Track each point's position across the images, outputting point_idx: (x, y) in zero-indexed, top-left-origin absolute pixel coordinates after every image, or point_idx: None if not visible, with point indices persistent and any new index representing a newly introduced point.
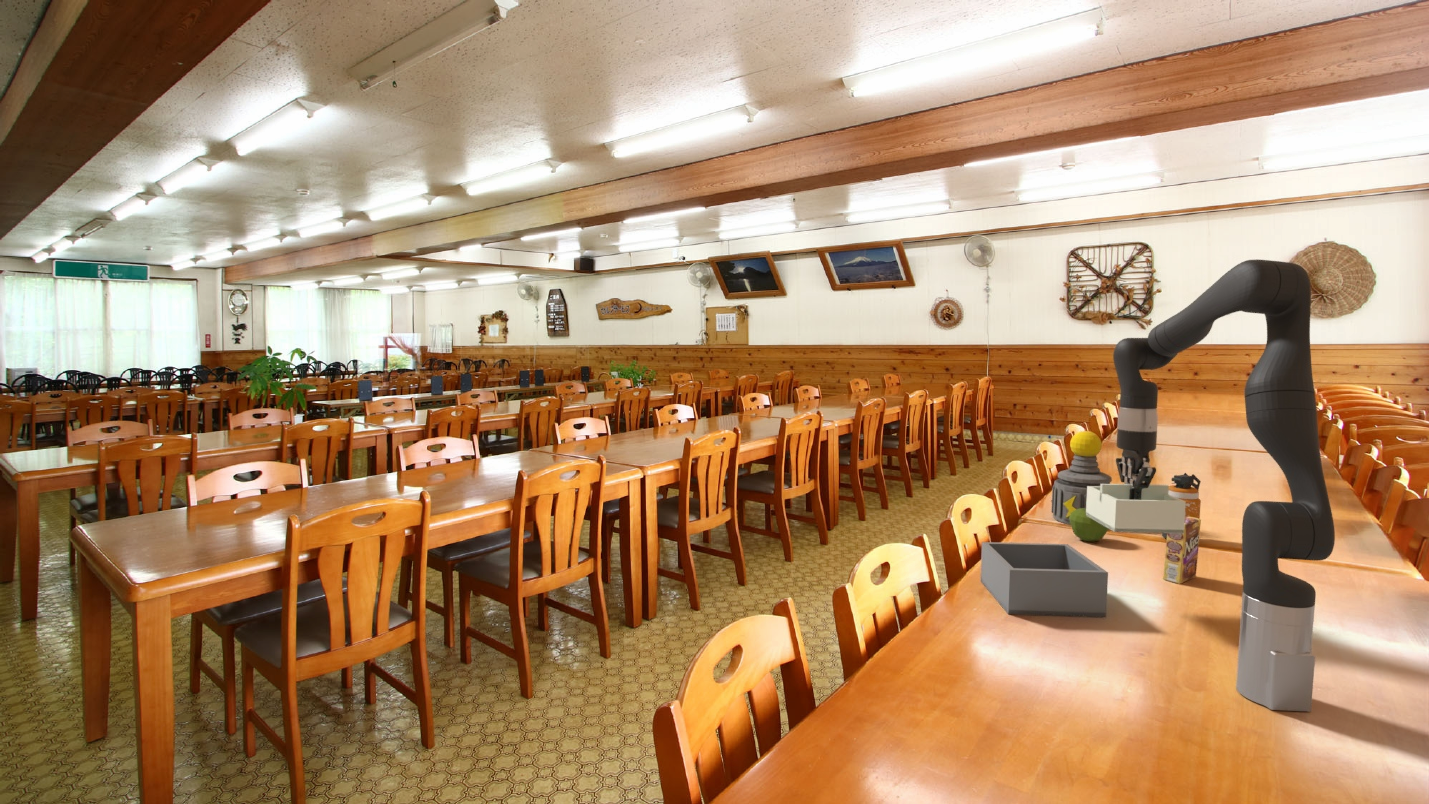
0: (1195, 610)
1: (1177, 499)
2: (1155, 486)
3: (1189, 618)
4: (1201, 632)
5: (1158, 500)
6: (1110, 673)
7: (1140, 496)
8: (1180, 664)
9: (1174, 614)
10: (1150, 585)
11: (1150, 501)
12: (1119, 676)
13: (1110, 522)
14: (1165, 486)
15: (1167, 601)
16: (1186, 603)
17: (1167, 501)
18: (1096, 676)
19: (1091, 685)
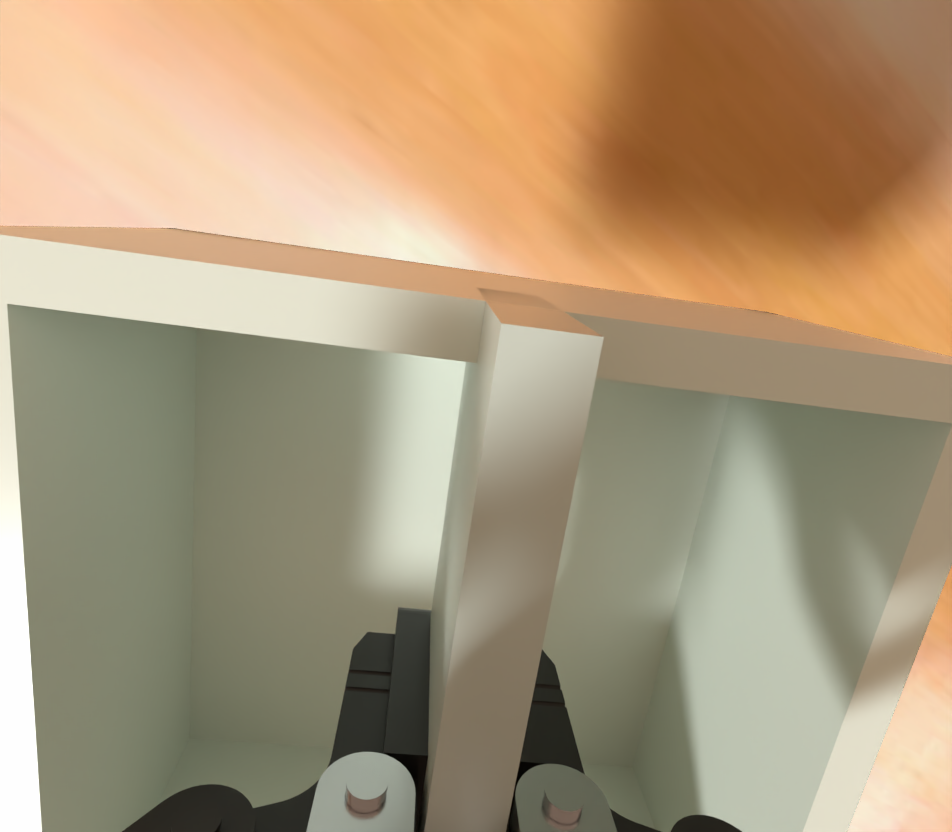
0: (525, 135)
1: (894, 407)
2: (548, 578)
3: (601, 229)
4: (724, 281)
5: (876, 688)
6: (900, 712)
7: (565, 719)
8: None
9: (558, 263)
10: (209, 122)
11: (859, 773)
12: (918, 700)
13: None
14: (582, 398)
15: (419, 189)
16: (445, 114)
17: (932, 601)
18: (904, 749)
19: (937, 778)
